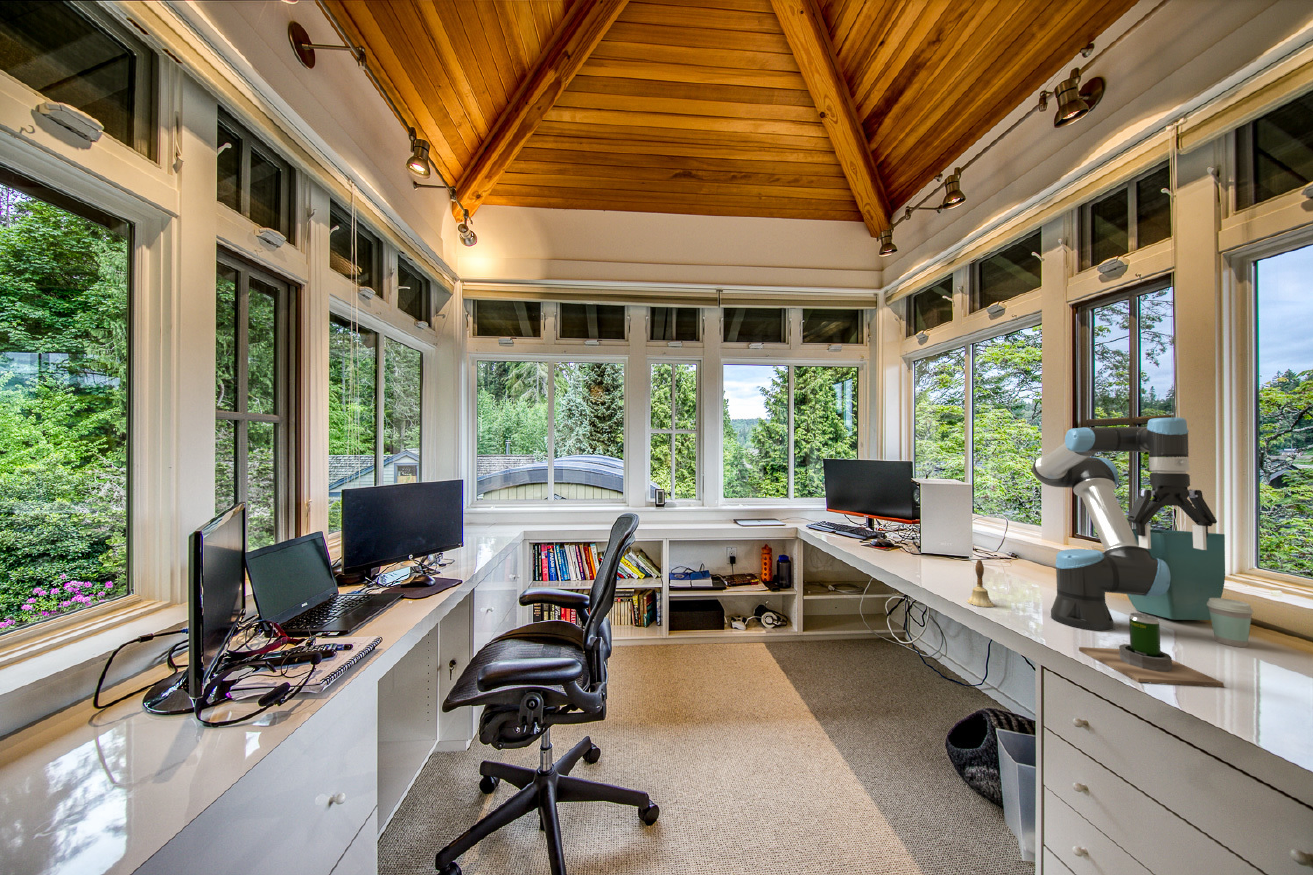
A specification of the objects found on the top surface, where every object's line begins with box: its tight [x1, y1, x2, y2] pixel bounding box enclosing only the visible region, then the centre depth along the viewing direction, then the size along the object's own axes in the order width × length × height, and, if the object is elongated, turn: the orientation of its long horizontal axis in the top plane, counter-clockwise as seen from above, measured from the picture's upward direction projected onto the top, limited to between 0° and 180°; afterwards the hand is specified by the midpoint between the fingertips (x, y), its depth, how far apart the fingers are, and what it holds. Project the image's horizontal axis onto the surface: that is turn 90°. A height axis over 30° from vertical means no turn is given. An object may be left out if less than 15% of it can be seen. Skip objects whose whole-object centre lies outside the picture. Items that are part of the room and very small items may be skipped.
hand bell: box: [966, 559, 995, 608], centre depth 168 cm, size 8×8×16 cm
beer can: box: [1128, 612, 1161, 658], centre depth 118 cm, size 5×5×12 cm
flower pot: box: [1126, 528, 1226, 621], centre depth 156 cm, size 20×20×28 cm
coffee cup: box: [1206, 597, 1254, 648], centre depth 133 cm, size 8×8×12 cm
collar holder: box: [1078, 643, 1225, 688], centre depth 118 cm, size 18×18×4 cm
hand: (1172, 548), depth 128 cm, fingers open, 13 cm apart
